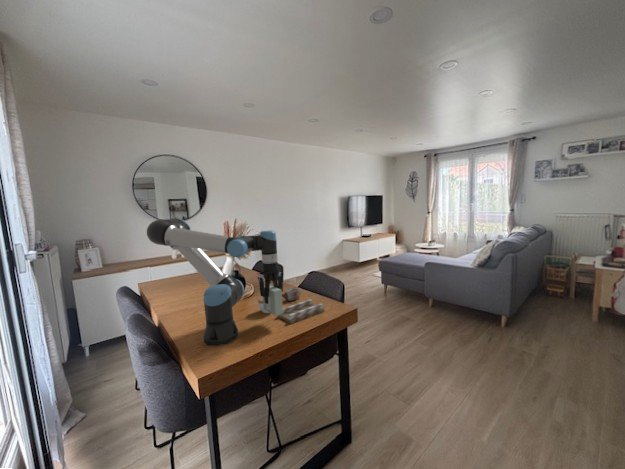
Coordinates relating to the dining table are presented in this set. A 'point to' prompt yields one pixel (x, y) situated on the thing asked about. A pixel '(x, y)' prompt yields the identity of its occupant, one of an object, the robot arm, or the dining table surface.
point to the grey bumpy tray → (301, 311)
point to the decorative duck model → (292, 294)
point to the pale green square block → (274, 301)
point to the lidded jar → (261, 305)
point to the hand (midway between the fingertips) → (272, 307)
